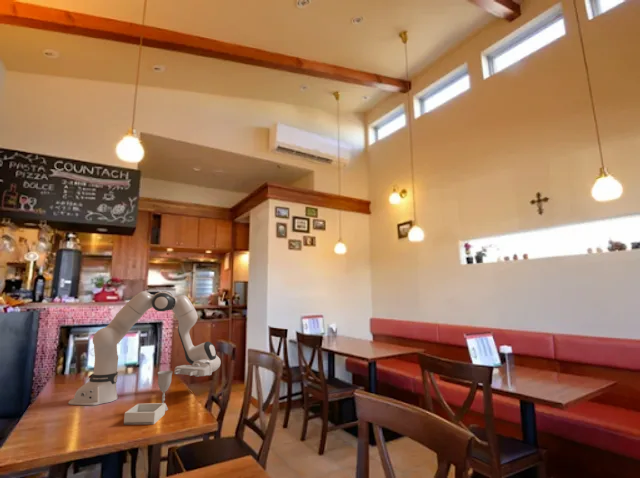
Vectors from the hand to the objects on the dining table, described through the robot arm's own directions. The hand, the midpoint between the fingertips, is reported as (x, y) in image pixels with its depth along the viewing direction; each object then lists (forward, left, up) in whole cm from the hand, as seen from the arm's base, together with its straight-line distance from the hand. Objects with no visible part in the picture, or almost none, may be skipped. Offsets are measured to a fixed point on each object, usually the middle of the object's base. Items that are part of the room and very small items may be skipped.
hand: (182, 373), depth 187 cm
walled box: (-8, -24, -15) cm, 30 cm away
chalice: (-5, -11, -15) cm, 20 cm away
